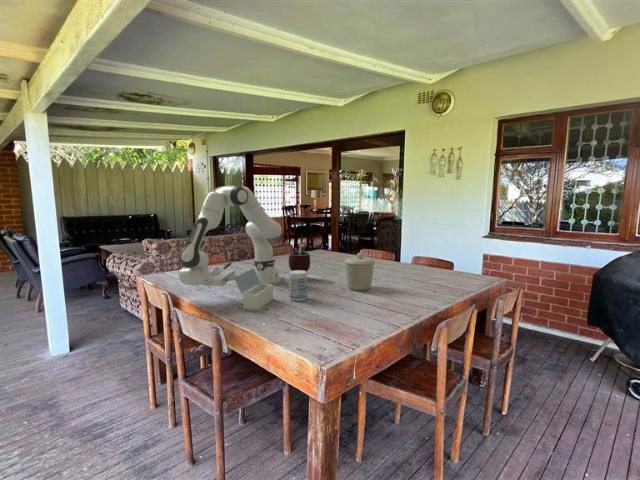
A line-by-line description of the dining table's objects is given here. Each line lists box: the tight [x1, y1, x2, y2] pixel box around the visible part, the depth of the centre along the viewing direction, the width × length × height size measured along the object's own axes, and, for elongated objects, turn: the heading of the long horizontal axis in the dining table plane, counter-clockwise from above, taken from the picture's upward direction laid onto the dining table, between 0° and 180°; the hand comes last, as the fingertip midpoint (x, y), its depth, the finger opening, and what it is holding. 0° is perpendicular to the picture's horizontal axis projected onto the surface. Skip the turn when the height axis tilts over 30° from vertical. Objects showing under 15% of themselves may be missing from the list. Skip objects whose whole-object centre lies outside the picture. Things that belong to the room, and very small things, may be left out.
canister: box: [343, 252, 376, 292], centre depth 211 cm, size 18×18×21 cm
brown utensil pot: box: [288, 246, 311, 282], centre depth 233 cm, size 16×14×20 cm
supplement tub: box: [288, 270, 308, 302], centre depth 191 cm, size 10×10×15 cm
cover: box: [234, 267, 260, 295], centre depth 183 cm, size 20×9×1 cm
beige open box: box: [242, 284, 274, 312], centre depth 182 cm, size 20×7×8 cm, turn 164°
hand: (237, 277), depth 182 cm, fingers closed
